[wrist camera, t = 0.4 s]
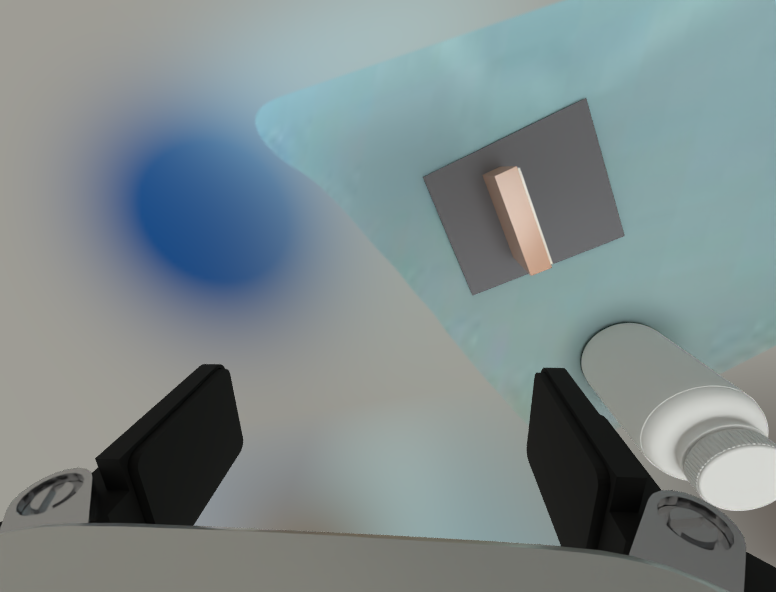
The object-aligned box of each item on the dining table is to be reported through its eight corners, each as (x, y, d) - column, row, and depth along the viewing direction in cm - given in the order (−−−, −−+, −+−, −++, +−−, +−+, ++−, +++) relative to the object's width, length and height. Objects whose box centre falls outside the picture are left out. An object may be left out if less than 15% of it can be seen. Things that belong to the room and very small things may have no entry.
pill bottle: (618, 404, 38) (733, 546, 23) (561, 361, 37) (645, 481, 22) (683, 352, 35) (857, 476, 21) (624, 304, 34) (764, 400, 20)
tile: (502, 165, 31) (519, 164, 25) (532, 249, 33) (554, 266, 27) (482, 174, 31) (494, 176, 25) (513, 257, 33) (530, 275, 28)
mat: (583, 98, 29) (586, 97, 28) (622, 235, 32) (624, 235, 32) (422, 177, 32) (423, 177, 32) (472, 294, 35) (472, 295, 35)
